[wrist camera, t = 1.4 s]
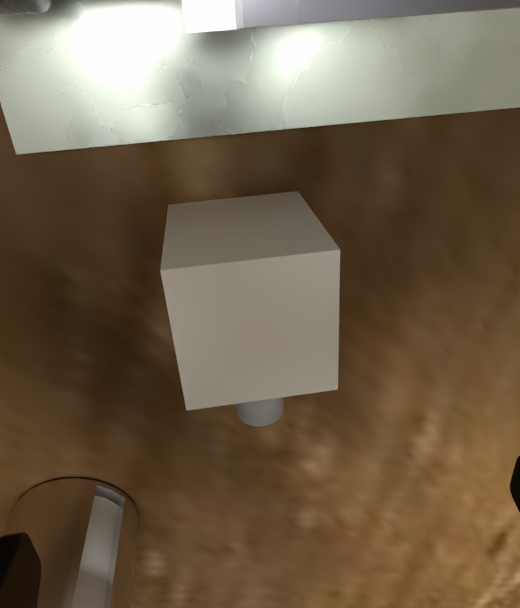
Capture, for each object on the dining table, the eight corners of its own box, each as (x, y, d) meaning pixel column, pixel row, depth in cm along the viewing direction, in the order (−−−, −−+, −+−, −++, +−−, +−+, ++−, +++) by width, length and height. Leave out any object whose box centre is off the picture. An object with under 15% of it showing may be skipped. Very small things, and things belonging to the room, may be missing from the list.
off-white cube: (297, 190, 19) (340, 249, 13) (301, 340, 22) (337, 434, 17) (168, 204, 18) (160, 270, 13) (193, 354, 22) (194, 454, 16)
